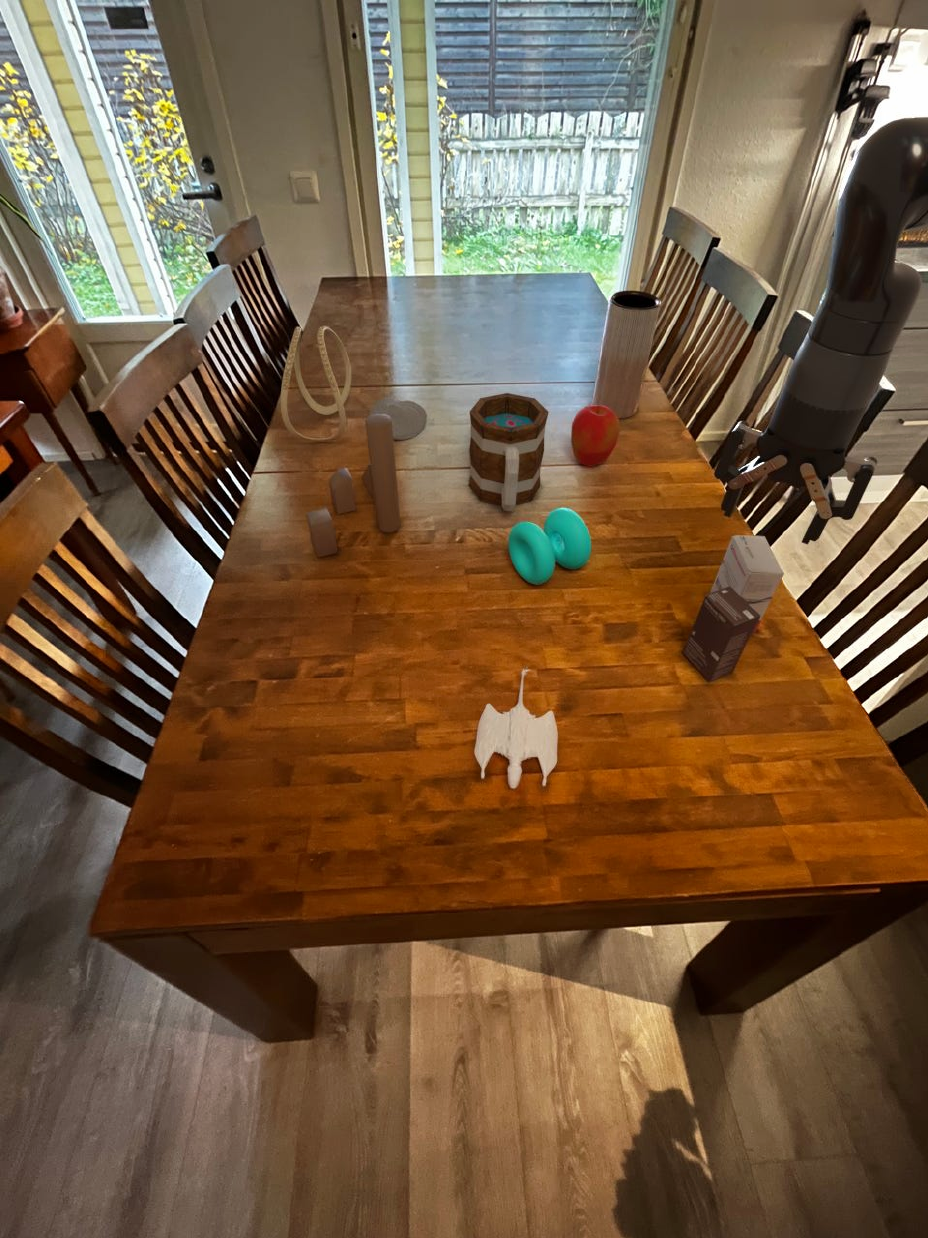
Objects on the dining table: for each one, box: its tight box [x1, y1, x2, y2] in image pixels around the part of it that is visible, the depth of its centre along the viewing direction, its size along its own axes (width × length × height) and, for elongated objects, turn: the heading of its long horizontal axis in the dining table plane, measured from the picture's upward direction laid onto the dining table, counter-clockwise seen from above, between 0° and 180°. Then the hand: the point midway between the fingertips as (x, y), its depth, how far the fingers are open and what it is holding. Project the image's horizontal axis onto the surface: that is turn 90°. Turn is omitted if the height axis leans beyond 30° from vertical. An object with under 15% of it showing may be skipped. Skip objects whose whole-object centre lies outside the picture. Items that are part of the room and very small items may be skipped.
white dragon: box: [473, 665, 559, 789], centre depth 78 cm, size 18×10×4 cm, turn 172°
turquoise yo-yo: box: [507, 507, 592, 585], centre depth 97 cm, size 10×10×10 cm
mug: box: [468, 392, 549, 512], centre depth 110 cm, size 20×14×15 cm
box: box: [682, 586, 761, 683], centre depth 83 cm, size 6×4×12 cm
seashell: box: [369, 396, 428, 441], centre depth 130 cm, size 12×6×10 cm
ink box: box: [709, 534, 785, 634], centre depth 90 cm, size 9×5×12 cm, turn 179°
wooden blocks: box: [305, 414, 401, 558], centre depth 104 cm, size 17×20×20 cm
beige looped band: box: [280, 325, 352, 443], centre depth 125 cm, size 22×12×20 cm, turn 4°
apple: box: [570, 404, 621, 467], centre depth 119 cm, size 9×9×12 cm
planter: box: [591, 290, 662, 419], centre depth 130 cm, size 10×10×23 cm
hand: (766, 526), depth 70 cm, fingers open, 8 cm apart
